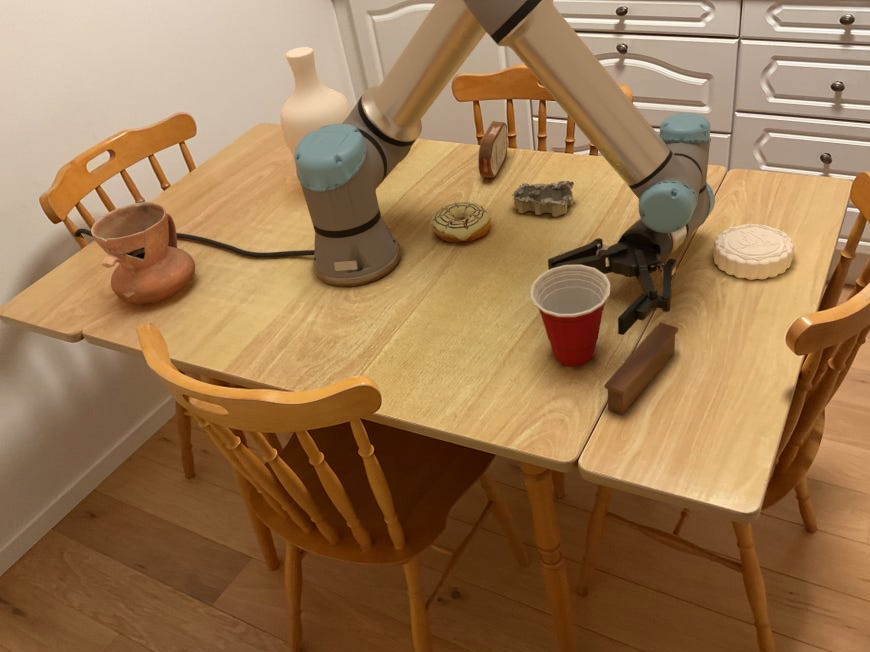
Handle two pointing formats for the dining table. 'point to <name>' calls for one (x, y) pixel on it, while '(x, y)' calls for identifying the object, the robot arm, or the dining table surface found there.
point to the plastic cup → (571, 310)
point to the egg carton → (544, 198)
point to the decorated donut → (461, 222)
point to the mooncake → (753, 251)
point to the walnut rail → (640, 368)
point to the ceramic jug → (143, 253)
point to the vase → (309, 100)
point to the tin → (493, 149)
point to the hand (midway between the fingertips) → (577, 312)
